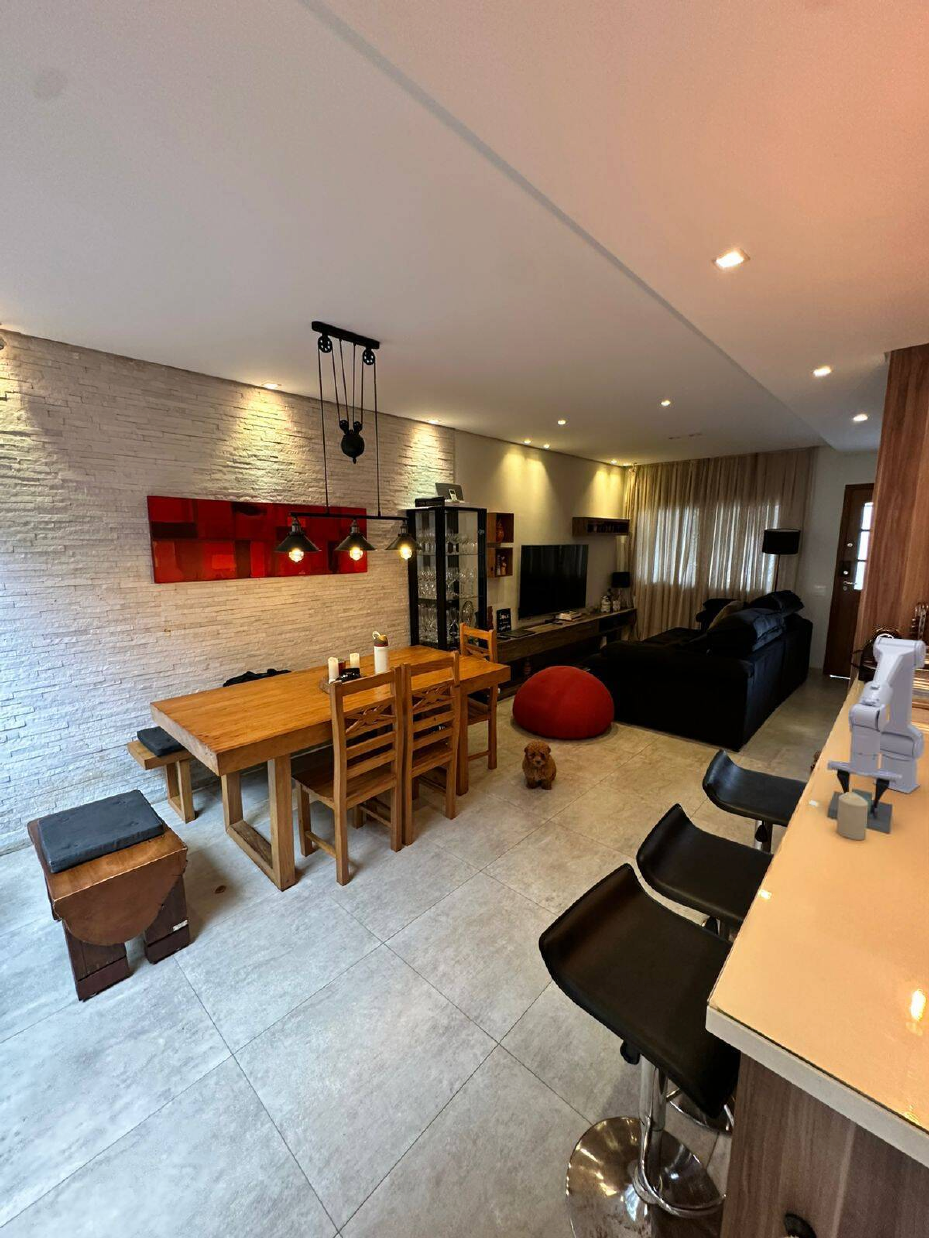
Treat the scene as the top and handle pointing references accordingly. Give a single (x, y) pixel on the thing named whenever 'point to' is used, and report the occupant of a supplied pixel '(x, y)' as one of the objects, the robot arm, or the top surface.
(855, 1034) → the top surface
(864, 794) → the peg block
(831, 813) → the square hole plate
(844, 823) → the candle
